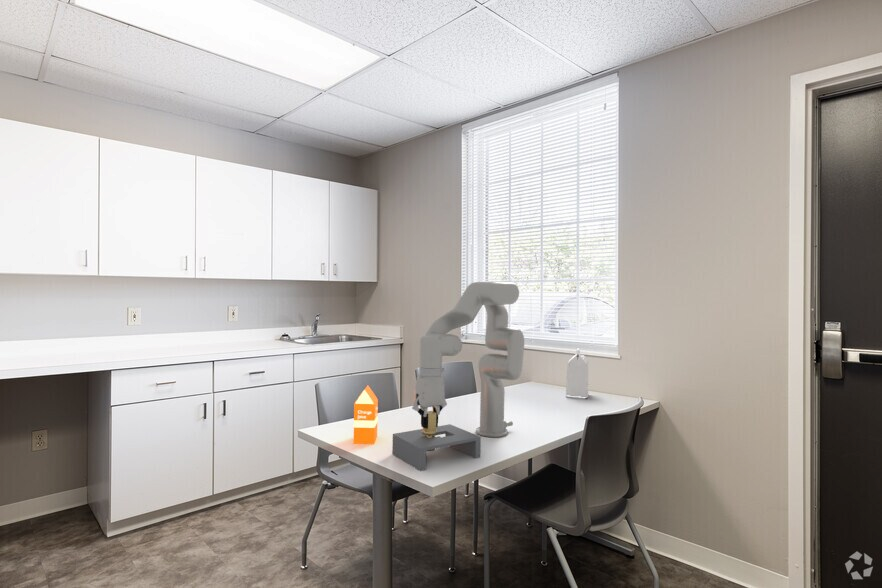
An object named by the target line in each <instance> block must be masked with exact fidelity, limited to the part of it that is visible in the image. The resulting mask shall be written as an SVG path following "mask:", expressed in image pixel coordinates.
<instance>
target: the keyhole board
mask: <svg viewBox="0 0 882 588" xmlns="http://www.w3.org/2000/svg"><path fill="white" fill-rule="evenodd" d="M422 429H423V428H421V429H414V430H409V431H402V432H396V433H393V434H392V447H391V448H392V452H391V453H392V455H393V456H394V457H396V458H398V459H399V460H401V461H403V462H404V463H406V464H408V465H409V464H410V465H409V466H411V467H413V468H414V467H415V468H414V469H416V470H418V471H419V470H420V472H421V470H423V471H425V470H427V468H426V467H427V465H426V464H427V452H428V451H427V450H432V449H435V450H436V449H441V448H446V447H450V448H453V449H455V450H457V451H460V452H462V453H463V454H465V455H467V456H470V457H472V458H474V459H479V458H481V450H482V449H481V447H482V445H481V441H482V439H481V435H480V436H479V434H475V433H473V432H470V431H467V430H465V429H463V428H460V427H458V426H456V425H453V424H450V423H448V424H443V425H438V427H436V430H437V434H435V435H432V438H427V435H424V434H422ZM441 435H445V436H441Z"/></svg>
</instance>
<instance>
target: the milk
mask: <svg viewBox="0 0 882 588" xmlns="http://www.w3.org/2000/svg"><path fill="white" fill-rule="evenodd" d="M580 352H581V350H580V348H576V353H575V355H573V356H572V357H571V358H570V359H568V362H567V369H566V386H565V396H566V395H570V396H581V397H588V398H589V361H588V359H587V357H586V356H585V355H584V354H581V353H580Z"/></svg>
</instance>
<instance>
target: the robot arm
mask: <svg viewBox="0 0 882 588" xmlns="http://www.w3.org/2000/svg"><path fill="white" fill-rule="evenodd" d="M519 297H520V289H519V287H518V285H517V284H515V282H512V281H511V282H508V281H507V282H504V281H502V282H501V281H497V282H496V281H476V282H475V281H474V282H471V283H470V284H469V285H467V287H466V288H465V290H464V291H463V293H462V295H461V297H460V298H459V299H458V301H457V302H456V304H455V306H454V308H452V309H450V310H449V311H447V312H446V313H444V314H443V315H441V316H440V317H439V318H437V319H436V320H435V321H434V322H433V323H432V324H431V325H430V327H429V328H428V330H427V331H426V333H425V335H423V336H421V337H420V339H419V375H418V376H417V377H416V380H415V384H414V391H413V392H414V393H413V394H414V395H413V405H412V407H411V409H412V410H413V411H415V412H417V413H418V414H419V415H420V424H421V427H422V429H423V428H425V429H428V417H427V411H429V410H428V408H431V409H432V410H431V411H433V412H436V427H438V426H439V425H438V423H439V415H440V414H441V411H443V409H444V408H445V407H447V405H448V403H447V401H446V394H445V393H446V390H445V389H446V387H445V380H444V376H443V375H442V374H443V373H444V372H445V368H444V367H443V357H454V356H457V355H458V354H459V353H461V351H462V349H463V342H462V340H461V337H460V336H457V335H455V334H450V333H449V332H451V331H453V330H456V329H459V328H462V327H465V326H467V325H469V324H471V323H473V322H474V320H475V319H476V317H477V316H478V314H479V312H480V310H481V309H482V307H483V306H484V308H485V311H486V326H485V336H484V338H485V340H484V343H485V347H486V348H487V349H489V350H492V351H499V352H500V351H501V352H506V353H507V354H501V353H493V352H492V353H490V352H489V353H484V354H483V355H481V357H480V358H479V361H478V372H479V379H480V398H479V399H480V402H479V403H480V408H479V410H480V411H479V426H478V427H477V428H476V429H475V433H476V435H478V436H479V435H480V436H482V437H488V438H501V437H506V436H507V435H508V434H509V431H508V429H507V427H511V426H513V425H514V424H513V422H514V421H512V420H509V421H506V420H505V393H506V392H505V386H504V383H503V381H502V380H507V381H516V380H518V379H520V376H521V374H522V371H523V363H524V362H523V361H524V353H525V352H524V351H525V336H524V333H523V331H522V330H521V329H519V328H517V327H509V313H508V309H507V308H506V305H513V304H515V303H516V302H517V301H518V300H519ZM448 333H449V334H448Z"/></svg>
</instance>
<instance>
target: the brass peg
mask: <svg viewBox="0 0 882 588" xmlns="http://www.w3.org/2000/svg"><path fill="white" fill-rule="evenodd" d="M427 417H428V429H425V428H423V427H422V428H421V429H422V434H424V435H427V438H432V435H435V434H437V430H436V412H433V410H427ZM434 451H436V449H432V450H427V451H426V452H434Z"/></svg>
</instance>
